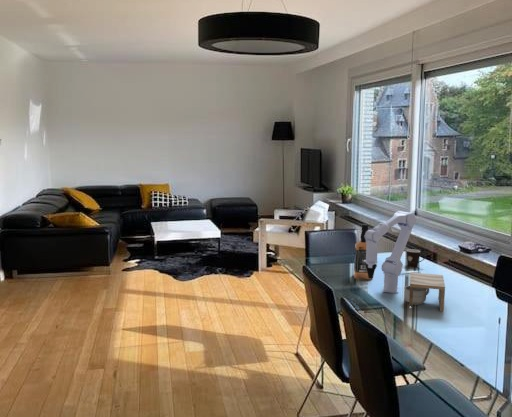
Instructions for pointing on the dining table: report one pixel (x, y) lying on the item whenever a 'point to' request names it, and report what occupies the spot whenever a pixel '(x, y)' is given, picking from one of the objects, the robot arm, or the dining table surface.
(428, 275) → the wooden step stool
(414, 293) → the teacup
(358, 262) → the whiskey bottle
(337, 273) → the dining table surface
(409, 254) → the coffee mug
